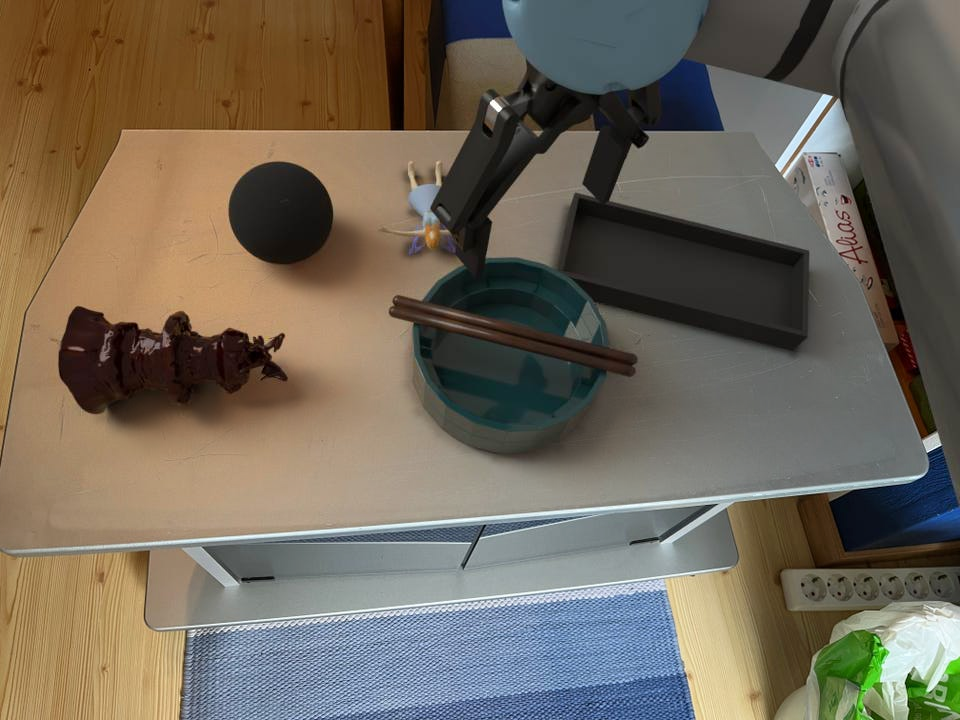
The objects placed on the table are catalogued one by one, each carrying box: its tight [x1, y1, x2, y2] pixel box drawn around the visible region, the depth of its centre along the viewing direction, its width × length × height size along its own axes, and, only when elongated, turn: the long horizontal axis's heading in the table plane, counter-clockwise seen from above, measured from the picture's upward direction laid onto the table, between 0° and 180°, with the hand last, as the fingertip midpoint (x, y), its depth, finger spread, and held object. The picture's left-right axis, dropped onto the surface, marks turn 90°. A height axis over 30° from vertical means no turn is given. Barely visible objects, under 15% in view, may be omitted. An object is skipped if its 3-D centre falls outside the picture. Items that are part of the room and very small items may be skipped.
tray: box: [555, 192, 810, 352], centre depth 79 cm, size 11×26×3 cm, turn 77°
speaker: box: [227, 160, 334, 266], centre depth 73 cm, size 10×10×10 cm
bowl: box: [410, 256, 611, 454], centre depth 71 cm, size 18×18×6 cm
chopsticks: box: [388, 294, 638, 378], centre depth 68 cm, size 23×2×1 cm, turn 77°
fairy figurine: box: [375, 160, 456, 255], centre depth 80 cm, size 12×5×12 cm
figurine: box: [57, 305, 289, 415], centre depth 67 cm, size 10×10×18 cm
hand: (534, 227), depth 61 cm, fingers open, 13 cm apart
